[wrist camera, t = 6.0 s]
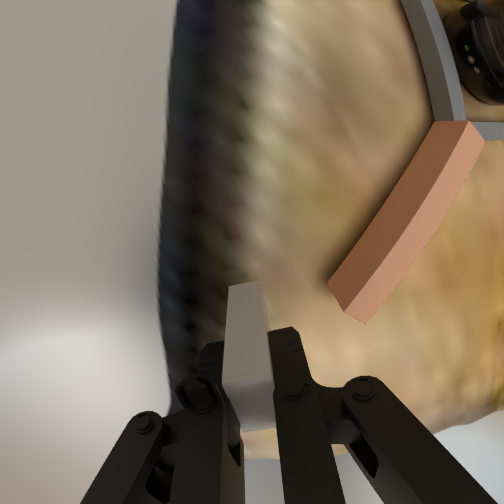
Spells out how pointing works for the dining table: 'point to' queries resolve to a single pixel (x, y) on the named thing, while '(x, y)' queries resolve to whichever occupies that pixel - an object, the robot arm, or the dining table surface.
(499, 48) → the supplement bottle
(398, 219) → the holder
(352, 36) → the dining table surface
